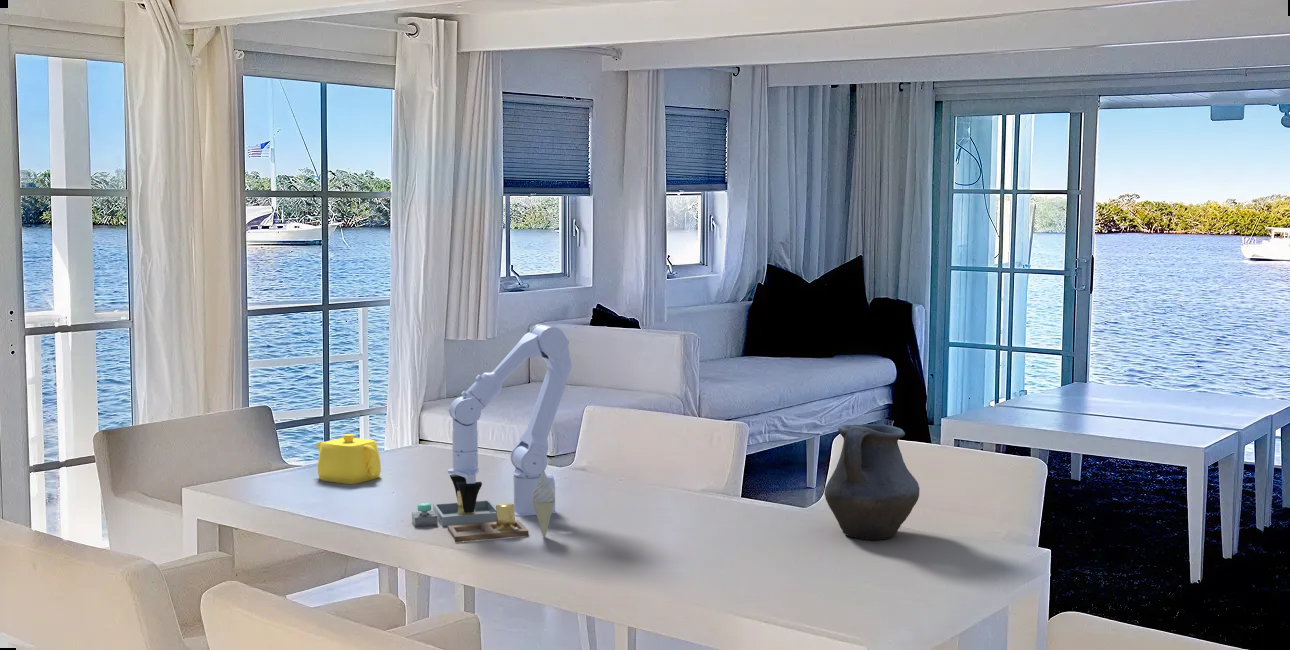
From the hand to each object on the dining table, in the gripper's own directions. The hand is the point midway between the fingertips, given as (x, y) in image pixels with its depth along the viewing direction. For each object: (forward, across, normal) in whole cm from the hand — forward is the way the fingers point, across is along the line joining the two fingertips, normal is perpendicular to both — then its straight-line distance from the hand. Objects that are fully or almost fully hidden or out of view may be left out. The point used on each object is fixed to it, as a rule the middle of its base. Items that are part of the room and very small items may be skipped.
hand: (466, 508), depth 297 cm
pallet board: (+2, +15, +2) cm, 15 cm away
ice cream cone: (+2, +22, +13) cm, 26 cm away
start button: (+1, +3, -10) cm, 10 cm away
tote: (+2, 0, 0) cm, 2 cm away
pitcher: (+2, +44, +80) cm, 91 cm away
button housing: (+2, +3, -10) cm, 11 cm away
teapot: (+3, -55, -22) cm, 59 cm away
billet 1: (+2, 0, 0) cm, 2 cm away
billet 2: (+2, +15, +6) cm, 16 cm away
